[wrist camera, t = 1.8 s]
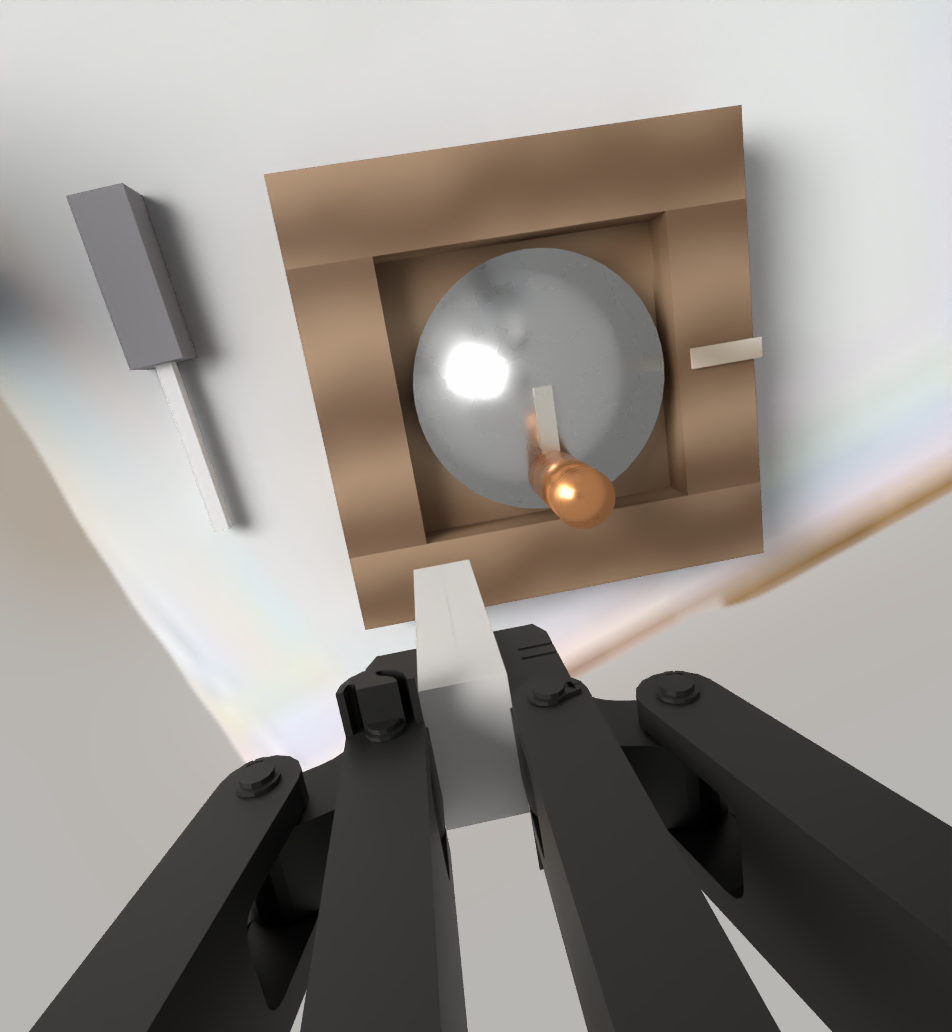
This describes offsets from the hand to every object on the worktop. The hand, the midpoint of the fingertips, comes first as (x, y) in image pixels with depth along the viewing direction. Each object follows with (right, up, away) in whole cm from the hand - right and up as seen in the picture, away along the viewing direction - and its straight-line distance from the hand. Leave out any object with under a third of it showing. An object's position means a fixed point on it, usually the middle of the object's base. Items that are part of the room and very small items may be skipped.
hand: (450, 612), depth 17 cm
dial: (+4, +10, +16) cm, 19 cm away
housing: (+3, +10, +19) cm, 21 cm away
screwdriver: (-15, +10, +17) cm, 25 cm away
